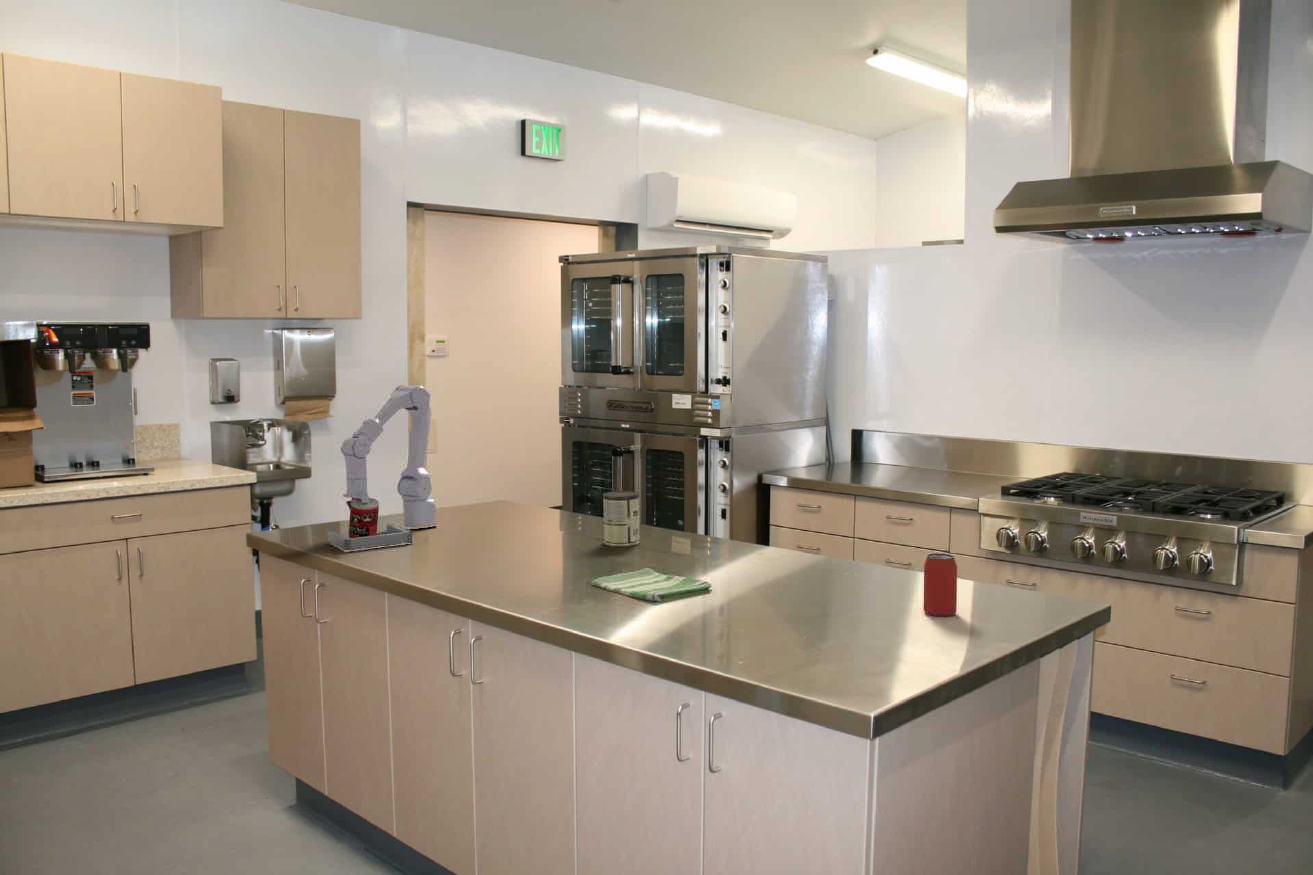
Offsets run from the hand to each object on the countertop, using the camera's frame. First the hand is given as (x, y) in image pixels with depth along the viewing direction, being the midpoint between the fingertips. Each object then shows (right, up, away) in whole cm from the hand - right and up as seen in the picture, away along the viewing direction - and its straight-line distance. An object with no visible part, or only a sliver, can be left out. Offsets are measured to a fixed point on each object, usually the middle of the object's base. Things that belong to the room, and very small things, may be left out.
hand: (358, 524), depth 296 cm
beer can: (+146, -11, -88) cm, 170 cm away
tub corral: (+5, -5, -7) cm, 10 cm away
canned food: (+2, -4, -3) cm, 5 cm away
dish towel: (+86, -10, -63) cm, 107 cm away
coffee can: (+77, -5, -10) cm, 78 cm away
